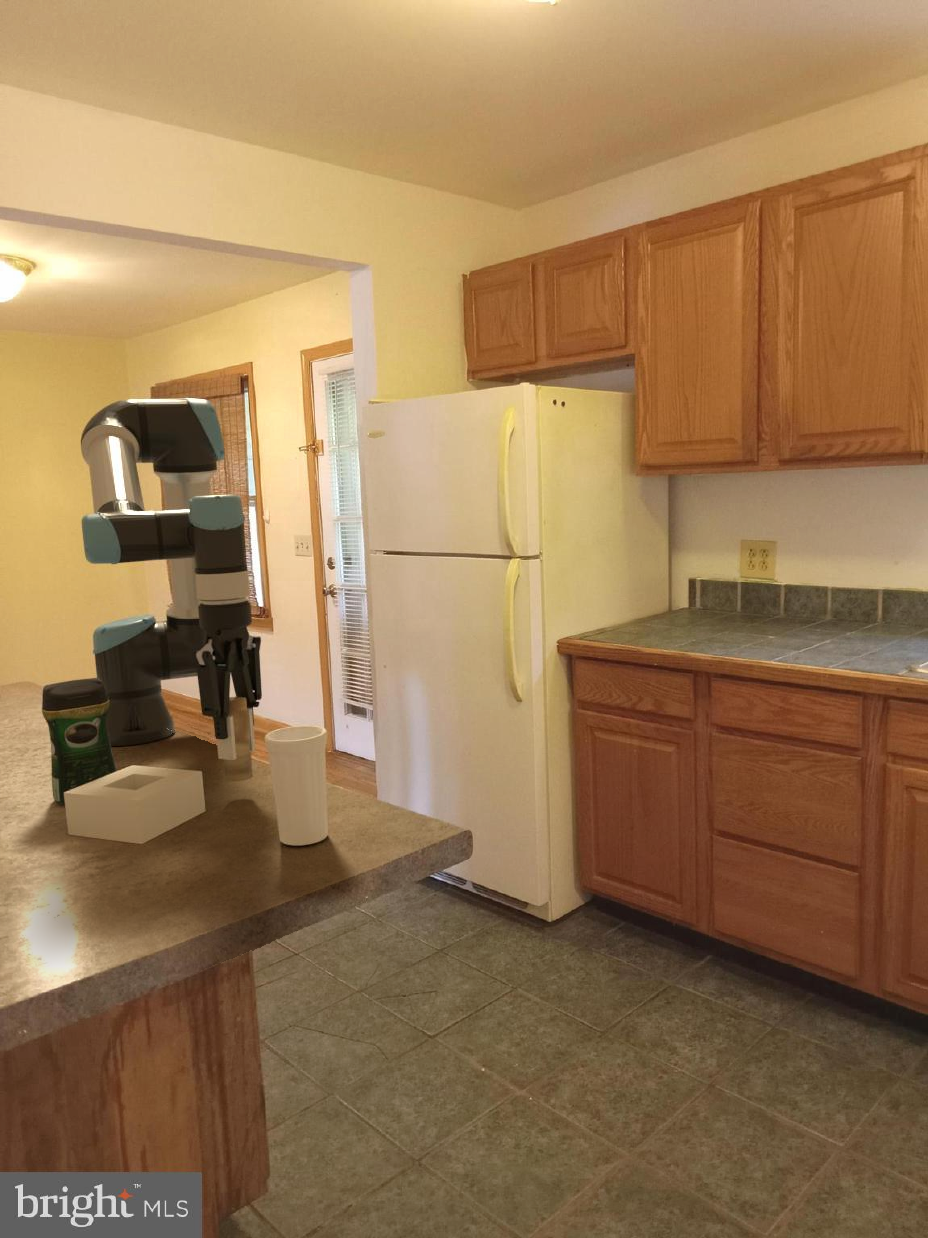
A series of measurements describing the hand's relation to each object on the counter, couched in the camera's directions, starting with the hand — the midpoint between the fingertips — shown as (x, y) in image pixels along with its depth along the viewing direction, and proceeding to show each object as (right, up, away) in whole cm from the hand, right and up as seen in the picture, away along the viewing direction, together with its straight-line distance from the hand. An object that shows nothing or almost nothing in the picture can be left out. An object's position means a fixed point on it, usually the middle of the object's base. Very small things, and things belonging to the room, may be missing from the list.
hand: (237, 753), depth 137 cm
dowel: (0, -4, +1) cm, 4 cm away
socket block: (-12, -8, -8) cm, 17 cm away
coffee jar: (-25, -8, +5) cm, 26 cm away
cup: (+13, -9, -18) cm, 24 cm away
